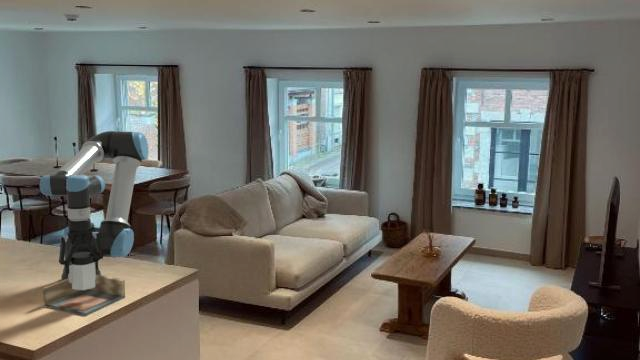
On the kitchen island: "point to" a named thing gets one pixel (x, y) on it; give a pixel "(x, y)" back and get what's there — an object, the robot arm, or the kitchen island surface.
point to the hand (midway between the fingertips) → (82, 279)
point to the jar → (83, 271)
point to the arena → (84, 295)
